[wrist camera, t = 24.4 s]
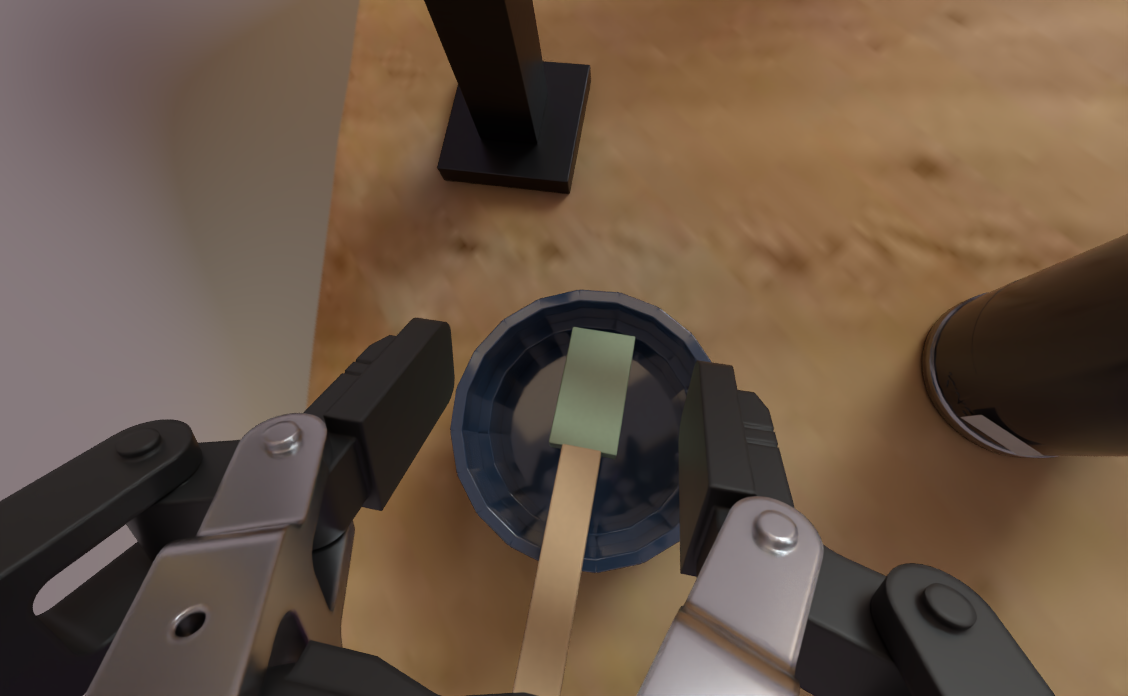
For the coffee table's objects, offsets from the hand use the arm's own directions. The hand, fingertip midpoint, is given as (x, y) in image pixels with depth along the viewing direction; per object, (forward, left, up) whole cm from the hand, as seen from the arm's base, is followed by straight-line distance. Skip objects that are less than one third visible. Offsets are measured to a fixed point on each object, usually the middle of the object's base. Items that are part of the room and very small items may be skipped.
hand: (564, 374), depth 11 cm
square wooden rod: (+4, +5, -12) cm, 14 cm away
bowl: (0, 0, -19) cm, 19 cm away
